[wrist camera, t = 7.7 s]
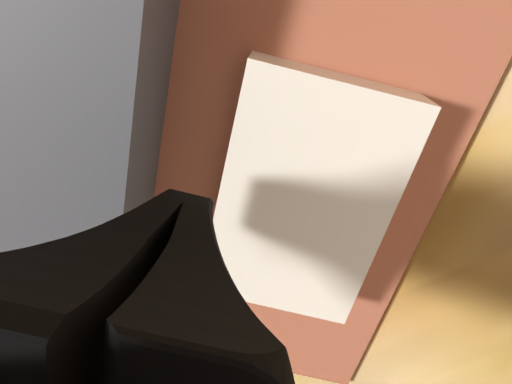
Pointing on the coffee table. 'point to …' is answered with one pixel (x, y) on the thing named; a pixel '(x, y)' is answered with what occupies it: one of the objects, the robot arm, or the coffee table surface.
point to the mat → (351, 63)
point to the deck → (79, 112)
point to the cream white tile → (313, 182)
